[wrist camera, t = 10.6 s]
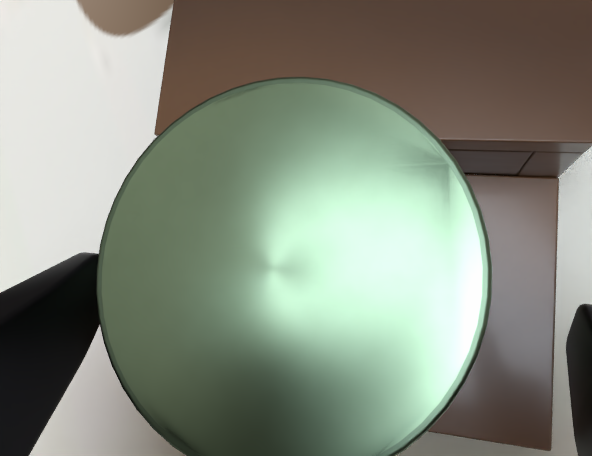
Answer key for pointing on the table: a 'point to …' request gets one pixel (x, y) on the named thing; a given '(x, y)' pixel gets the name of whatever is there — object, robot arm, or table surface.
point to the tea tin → (294, 275)
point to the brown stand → (449, 129)
